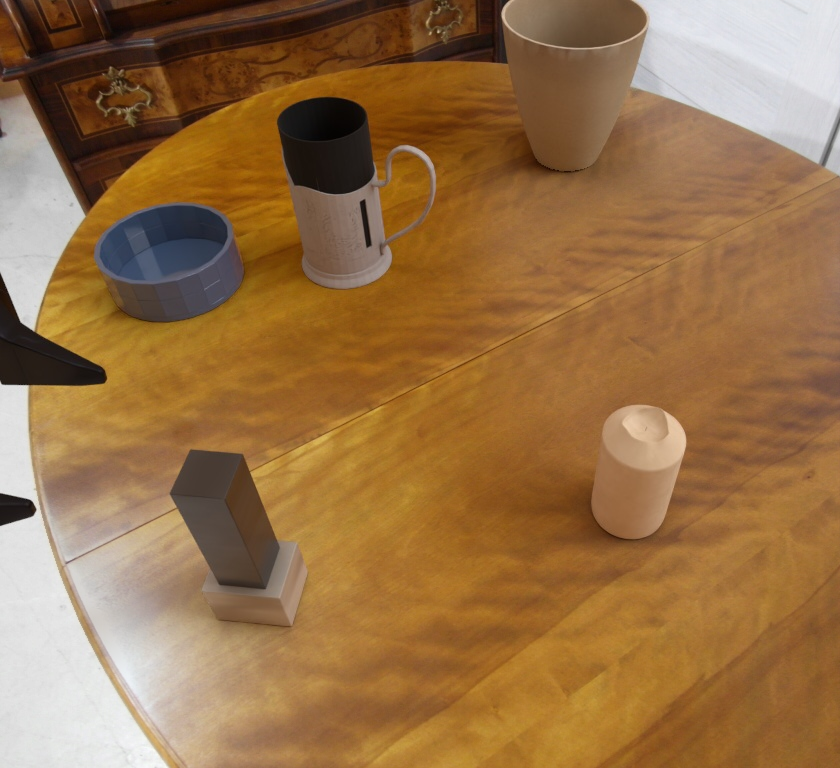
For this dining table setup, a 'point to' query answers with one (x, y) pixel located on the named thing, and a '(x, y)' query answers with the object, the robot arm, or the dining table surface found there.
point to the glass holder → (339, 191)
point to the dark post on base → (238, 541)
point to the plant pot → (572, 72)
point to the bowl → (170, 261)
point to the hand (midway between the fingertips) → (71, 437)
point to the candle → (636, 470)
